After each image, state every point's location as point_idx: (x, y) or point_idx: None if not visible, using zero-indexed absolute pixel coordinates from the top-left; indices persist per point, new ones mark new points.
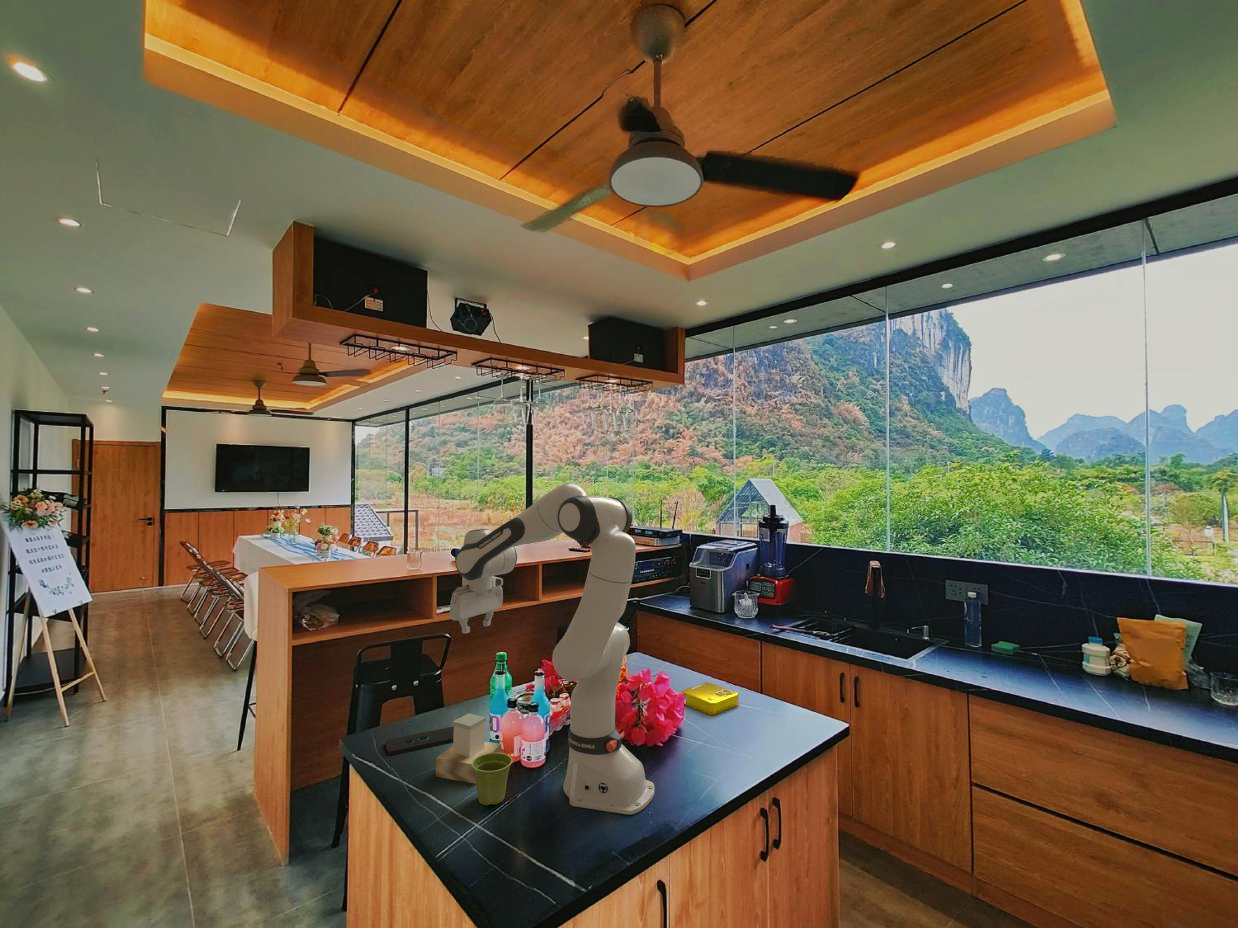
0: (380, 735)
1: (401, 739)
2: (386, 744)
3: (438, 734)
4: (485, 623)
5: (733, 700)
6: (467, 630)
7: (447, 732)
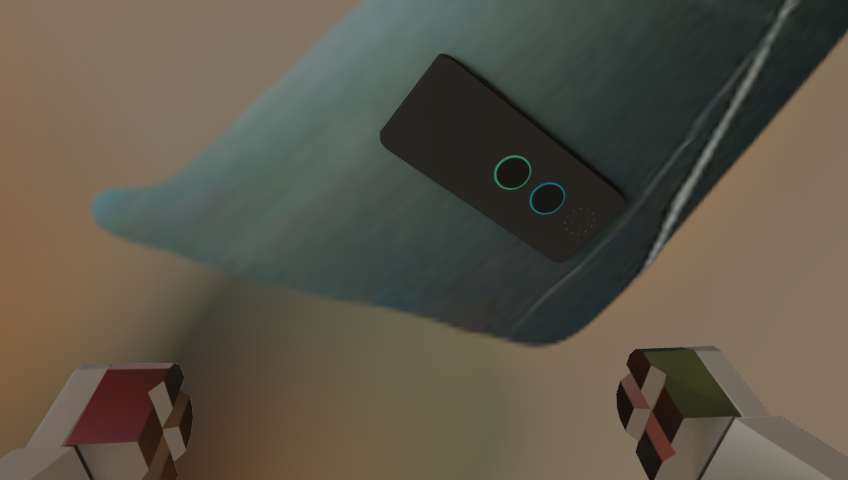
0: (512, 306)
1: (541, 228)
2: (584, 241)
3: (465, 148)
4: (166, 427)
5: None
6: (721, 371)
7: (437, 130)
